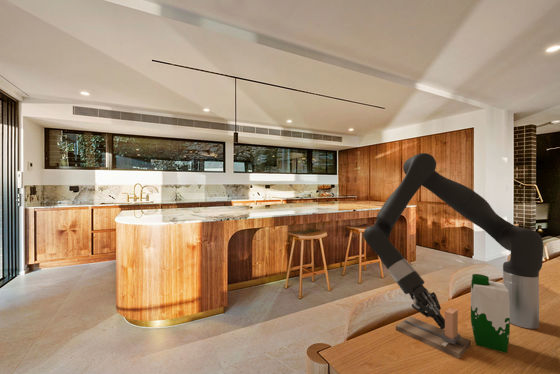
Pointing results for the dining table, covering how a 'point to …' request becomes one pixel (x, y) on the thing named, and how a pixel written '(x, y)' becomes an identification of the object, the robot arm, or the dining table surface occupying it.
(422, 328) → the console
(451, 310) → the fader
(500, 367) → the dining table surface
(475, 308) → the milk carton
